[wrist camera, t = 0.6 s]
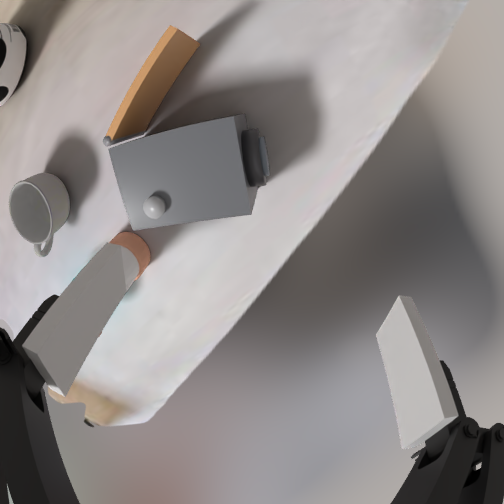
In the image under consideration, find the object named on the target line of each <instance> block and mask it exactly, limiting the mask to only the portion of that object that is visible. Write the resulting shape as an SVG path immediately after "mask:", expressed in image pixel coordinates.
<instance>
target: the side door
mask: <svg viewBox="0 0 504 504" xmlns="http://www.w3.org/2000/svg"><path fill="white" fill-rule="evenodd" d="M199 46H200V43H198V42H197V41H195V40H194V39H193V38H191V37H190V36H188V35H187V34H185V33H184V32H182V31H180V30H179V29H177V28H175V27H173V26H169V28H168V29H167V30H166V32H165V33H164V35H163V36H162V37H161V39H160V40H159V42H158V43H157V45H156V46H155V48H154V49H153V51H152V52H151V54H150V55H149V57H148V58H147V60H146V61H145V63H144V65H143V66H142V68H141V70H140V71H139V73H138V75H137V76H136V78H135V80H134V81H133V83H132V85H131V87H130V88H129V90H128V92H127V94H126V96H125V98H124V100H123V101H122V103H121V105H120V107H119V109H118V111H117V113H116V115H115V117H114V119H113V121H112V123H111V126H110V128H109V130H108V132H107V134H106V136H105V137H104V139H103V143H104V145H105V146H110V145H113V144H116V143H119V142H122V141H125V140H128V139H131V138H135V137H138V136H141V135H143V134H144V133H145V130H146V128H147V126H148V124H149V122H150V121H151V119H152V117H153V115H154V114H155V112H156V110H157V109H158V107H159V105H160V103H161V102H162V100H163V99H164V97H165V95H166V94H167V92H168V91H169V89H170V87H171V86H172V84H173V83H174V81H175V80H176V78H177V77H178V75H179V74H180V72H181V71H182V69H183V68H184V66H185V65H186V63H187V62H188V61H189V59H190V58H191V56H192V55H193V54H194V52H195V51H196V50H197V48H198V47H199Z"/></svg>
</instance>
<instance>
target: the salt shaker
mask: <svg viewBox="0 0 504 504" xmlns="http://www.w3.org/2000/svg"><path fill="white" fill-rule="evenodd" d="M109 243H112V244H116V245H121V251H122V260H123V268H124V276H125V283H126V290H127V291H128V289H129V288H130V286H131V285H132V283H133V282H134V281H135V280H136V279H138V278H139V277H140V275H141V274H142V273H143V271H144V270H145V268H146V267H147V266H148V264H149V262H150V258H151V257H150V250H149V248H148V246H147V244H146V243H145V241H144V240H143V239H142V238H140V237H139V236H138V235H136V234H134V233H132V232H122V233H119V234H118V235H117V236H115V237H114V238H113V239H112V240H111V241H110V242H109ZM101 333H102V332H101ZM101 333H100V335H101ZM100 335H99V336H100Z"/></svg>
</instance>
